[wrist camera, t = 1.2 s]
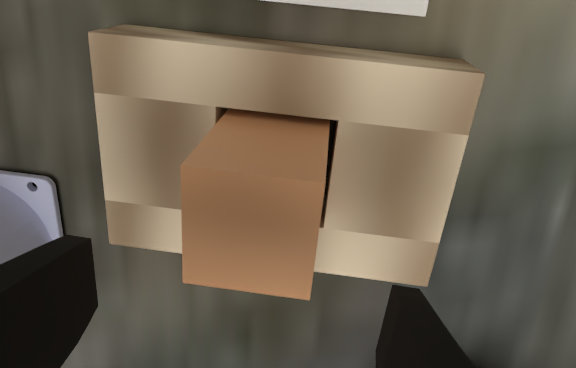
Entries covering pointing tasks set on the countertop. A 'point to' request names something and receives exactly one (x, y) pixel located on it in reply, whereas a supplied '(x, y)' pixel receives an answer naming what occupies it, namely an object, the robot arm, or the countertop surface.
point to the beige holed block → (291, 101)
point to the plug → (255, 203)
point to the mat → (370, 5)
